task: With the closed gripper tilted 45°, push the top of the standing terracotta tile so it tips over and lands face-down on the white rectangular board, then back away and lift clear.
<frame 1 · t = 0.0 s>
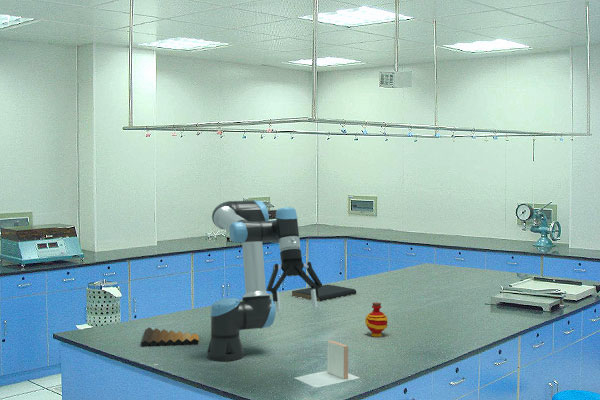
hand: (297, 309, 238), 28 cm above the counter, tool tilted 20°, fingers open, 13 cm apart
terracotta tile: (337, 375, 252), point 1 cm above the counter, touching white rectangular board
pan flute: (171, 340, 310), on the counter
potion bottle: (376, 335, 315), on the counter
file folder: (324, 296, 417), on the counter
white rectangular board: (326, 379, 249), on the counter
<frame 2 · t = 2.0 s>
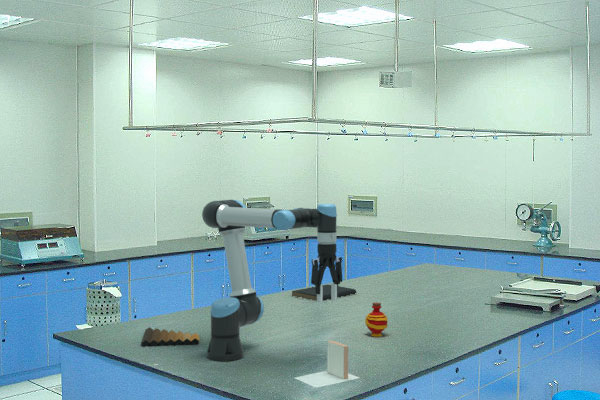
hand: (326, 301, 268), 25 cm above the counter, tool pointing down, fingers open, 6 cm apart
nothing on the counter moved.
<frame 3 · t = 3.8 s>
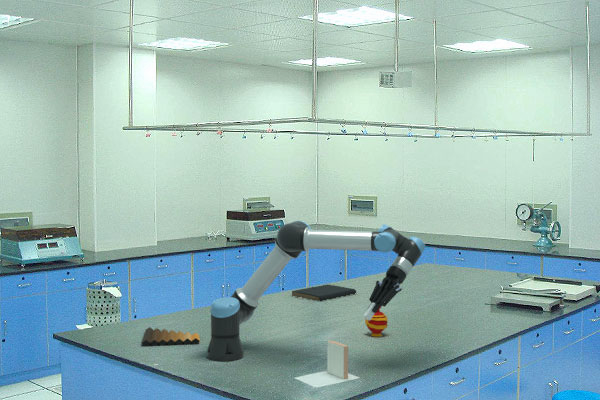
hand: (366, 318, 259), 20 cm above the counter, tool tilted 45°, fingers closed
nothing on the counter moved.
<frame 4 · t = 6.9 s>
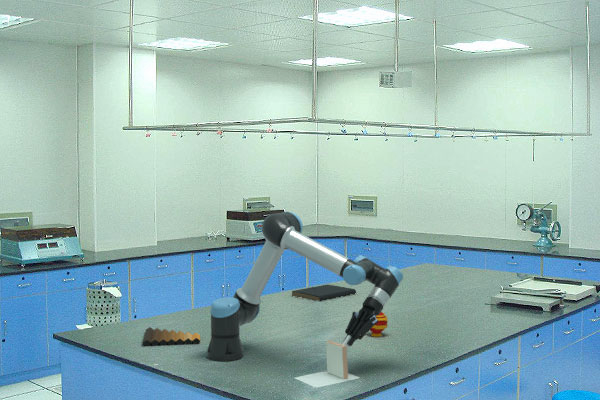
hand: (341, 351, 252), 9 cm above the counter, tool tilted 45°, fingers closed
nothing on the counter moved.
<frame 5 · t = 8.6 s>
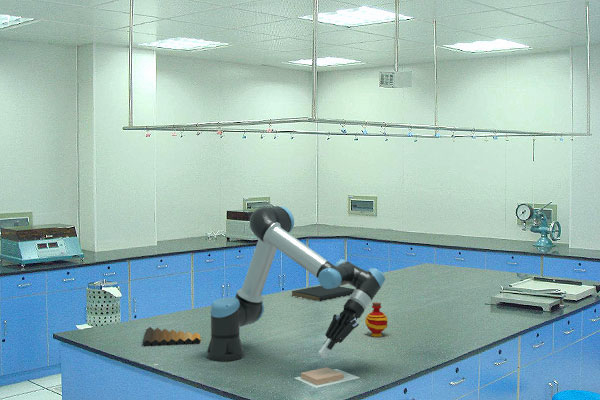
hand: (321, 355, 247), 9 cm above the counter, tool tilted 45°, fingers closed
terracotta tile: (335, 372, 251), point 2 cm above the counter, tilted 90°, touching white rectangular board
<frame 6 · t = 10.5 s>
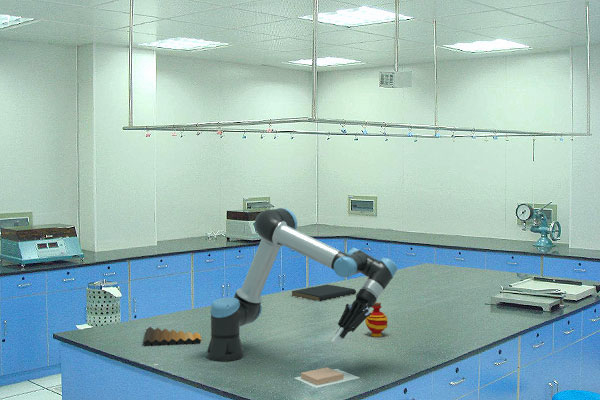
hand: (334, 343, 249), 13 cm above the counter, tool tilted 45°, fingers closed
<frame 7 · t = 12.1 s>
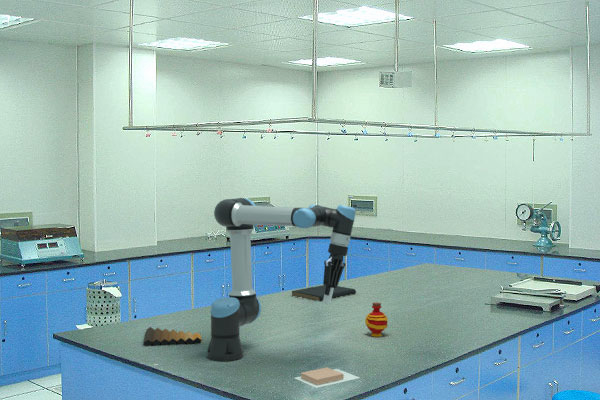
hand: (326, 303, 267), 24 cm above the counter, tool pointing down, fingers closed
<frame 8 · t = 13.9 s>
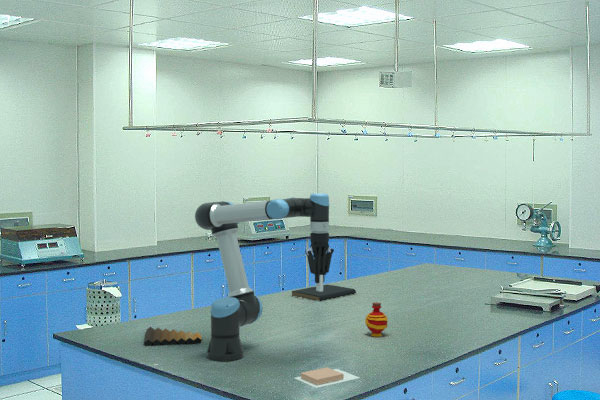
hand: (319, 290, 272), 28 cm above the counter, tool pointing down, fingers closed
at the end: terracotta tile tilted 90°; terracotta tile 3.7 cm from the white rectangular board (horizontally); terracotta tile touching white rectangular board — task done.
